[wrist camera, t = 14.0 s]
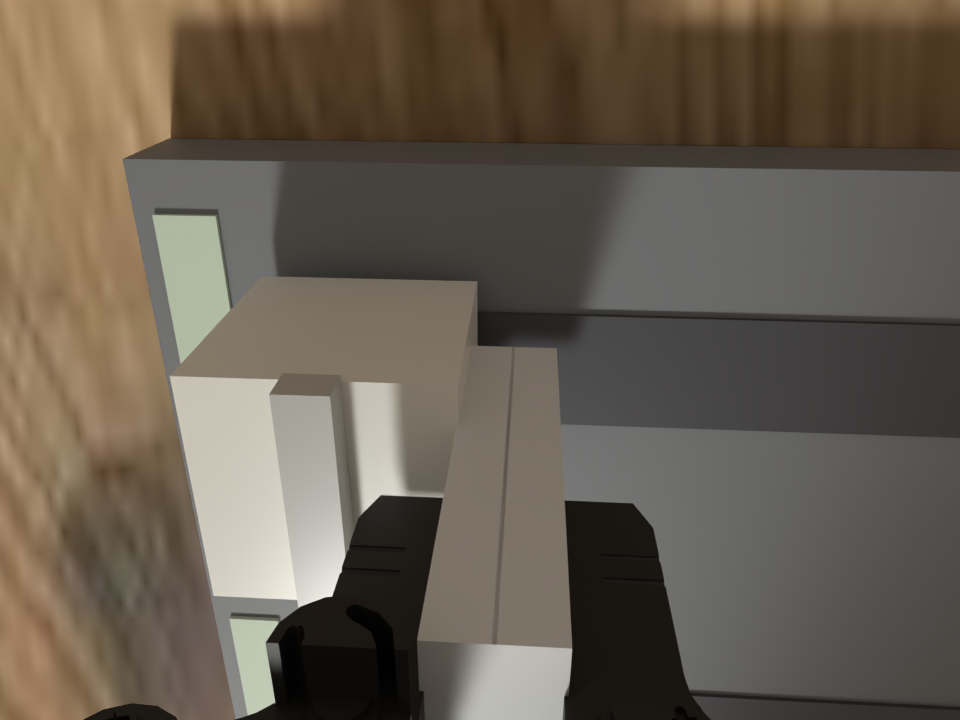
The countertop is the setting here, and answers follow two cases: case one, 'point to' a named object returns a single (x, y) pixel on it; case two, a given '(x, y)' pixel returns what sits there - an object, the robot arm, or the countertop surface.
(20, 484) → the countertop surface
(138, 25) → the countertop surface
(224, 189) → the switch panel
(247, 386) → the breaker
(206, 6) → the countertop surface
